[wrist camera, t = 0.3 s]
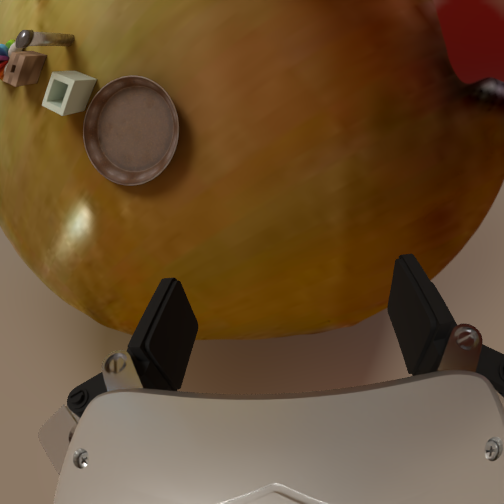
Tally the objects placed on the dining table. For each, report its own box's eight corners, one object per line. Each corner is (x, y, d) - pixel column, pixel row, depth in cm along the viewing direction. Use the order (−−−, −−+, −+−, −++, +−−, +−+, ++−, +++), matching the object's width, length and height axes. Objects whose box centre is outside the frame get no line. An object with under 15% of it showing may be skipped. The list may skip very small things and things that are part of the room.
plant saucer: (84, 161, 40) (74, 166, 37) (108, 67, 31) (98, 67, 28) (165, 195, 43) (158, 202, 40) (203, 93, 34) (197, 93, 31)
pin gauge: (68, 32, 26) (20, 29, 15) (77, 34, 26) (29, 30, 16) (61, 46, 27) (13, 47, 17) (71, 49, 28) (21, 49, 17)
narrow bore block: (32, 50, 26) (11, 52, 21) (46, 55, 28) (25, 56, 22) (22, 77, 29) (2, 80, 24) (36, 83, 30) (15, 86, 25)
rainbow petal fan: (1, 79, 28) (-22, 84, 22) (10, 41, 23) (-13, 43, 17) (18, 79, 29) (-6, 84, 23) (28, 37, 24) (4, 38, 18)
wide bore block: (75, 70, 30) (52, 71, 25) (96, 79, 32) (74, 80, 27) (63, 100, 33) (41, 105, 28) (84, 110, 35) (62, 116, 29)
